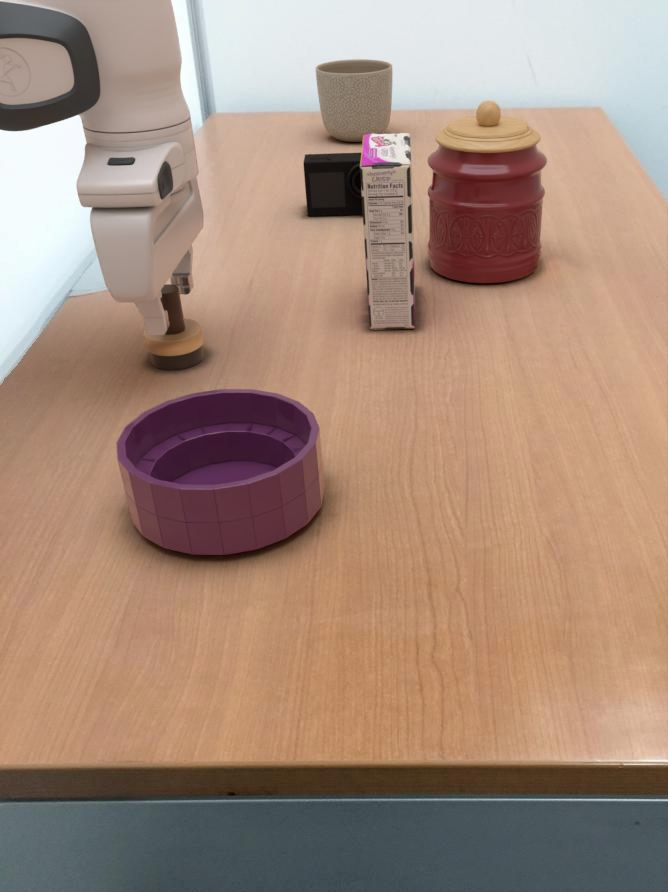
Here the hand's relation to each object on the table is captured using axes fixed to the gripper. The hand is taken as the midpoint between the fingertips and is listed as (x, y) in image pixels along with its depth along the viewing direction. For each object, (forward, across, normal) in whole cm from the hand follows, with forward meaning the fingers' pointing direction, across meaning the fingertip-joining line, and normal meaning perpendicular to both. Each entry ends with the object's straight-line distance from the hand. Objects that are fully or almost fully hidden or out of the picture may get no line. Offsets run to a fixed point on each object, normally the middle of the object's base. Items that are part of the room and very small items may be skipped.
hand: (171, 311), depth 89 cm
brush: (+5, 0, 0) cm, 5 cm away
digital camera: (+5, -45, +12) cm, 47 cm away
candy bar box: (+5, -12, +20) cm, 24 cm away
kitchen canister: (+5, -25, +30) cm, 39 cm away
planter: (+5, -85, +9) cm, 86 cm away
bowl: (+5, +25, +10) cm, 27 cm away
